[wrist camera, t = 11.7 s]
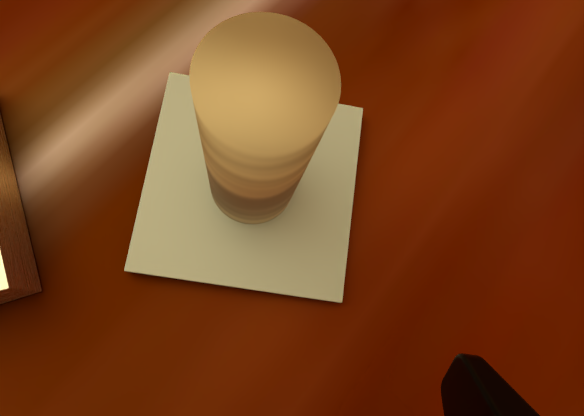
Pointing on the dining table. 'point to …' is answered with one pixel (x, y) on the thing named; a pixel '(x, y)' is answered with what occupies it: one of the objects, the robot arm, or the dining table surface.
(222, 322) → the dining table surface
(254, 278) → the pad
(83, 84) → the dining table surface
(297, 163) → the post
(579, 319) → the dining table surface
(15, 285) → the collar
